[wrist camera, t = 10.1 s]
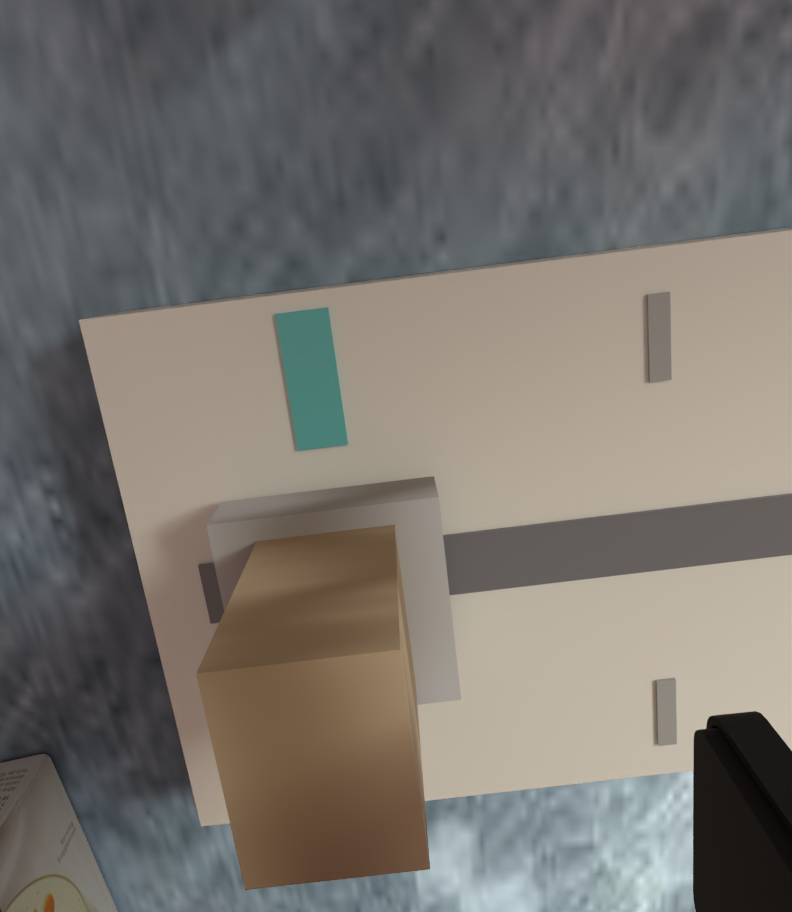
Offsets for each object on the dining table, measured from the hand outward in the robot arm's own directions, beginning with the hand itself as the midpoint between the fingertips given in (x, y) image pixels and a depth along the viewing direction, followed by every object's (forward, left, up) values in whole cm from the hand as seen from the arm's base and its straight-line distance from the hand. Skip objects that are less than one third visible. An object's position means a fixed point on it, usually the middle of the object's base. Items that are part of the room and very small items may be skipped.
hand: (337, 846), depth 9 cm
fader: (0, 0, -8) cm, 8 cm away
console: (-8, 0, -12) cm, 14 cm away
